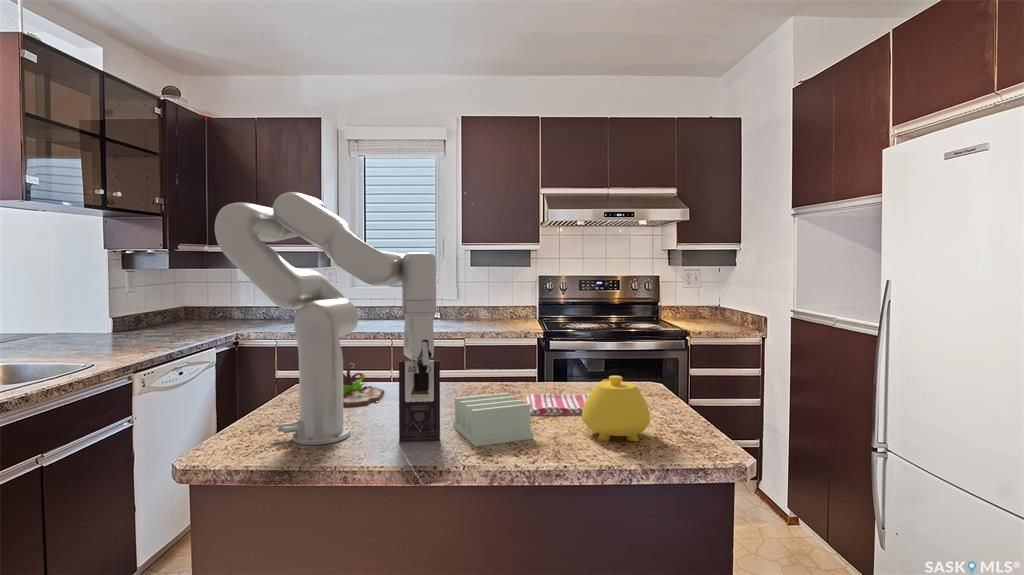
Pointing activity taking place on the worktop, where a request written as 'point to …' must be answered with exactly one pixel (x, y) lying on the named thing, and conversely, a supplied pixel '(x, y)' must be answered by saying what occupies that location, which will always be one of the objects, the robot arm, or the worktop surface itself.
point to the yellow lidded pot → (616, 410)
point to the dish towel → (556, 404)
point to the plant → (358, 391)
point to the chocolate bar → (419, 404)
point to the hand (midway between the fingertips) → (419, 388)
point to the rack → (492, 419)
